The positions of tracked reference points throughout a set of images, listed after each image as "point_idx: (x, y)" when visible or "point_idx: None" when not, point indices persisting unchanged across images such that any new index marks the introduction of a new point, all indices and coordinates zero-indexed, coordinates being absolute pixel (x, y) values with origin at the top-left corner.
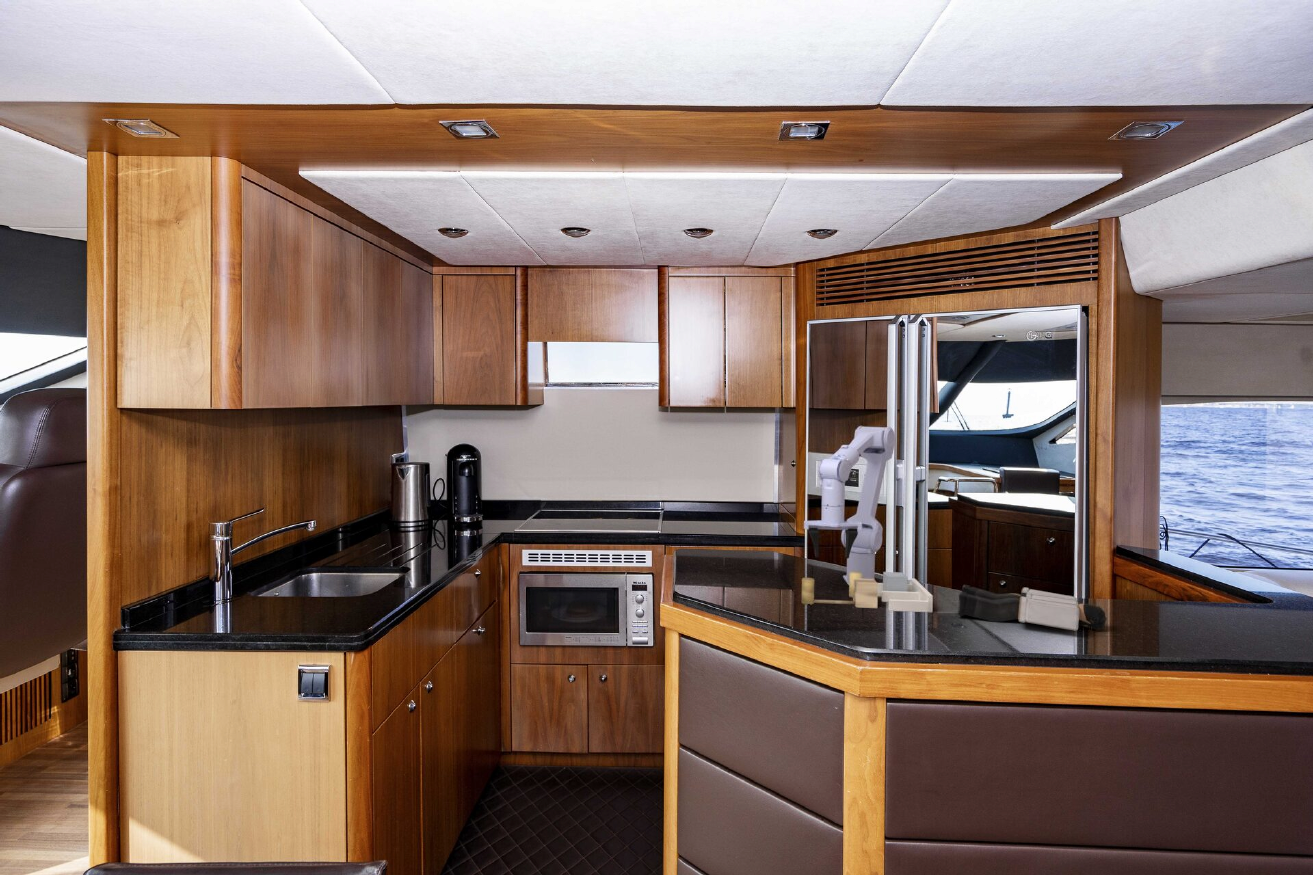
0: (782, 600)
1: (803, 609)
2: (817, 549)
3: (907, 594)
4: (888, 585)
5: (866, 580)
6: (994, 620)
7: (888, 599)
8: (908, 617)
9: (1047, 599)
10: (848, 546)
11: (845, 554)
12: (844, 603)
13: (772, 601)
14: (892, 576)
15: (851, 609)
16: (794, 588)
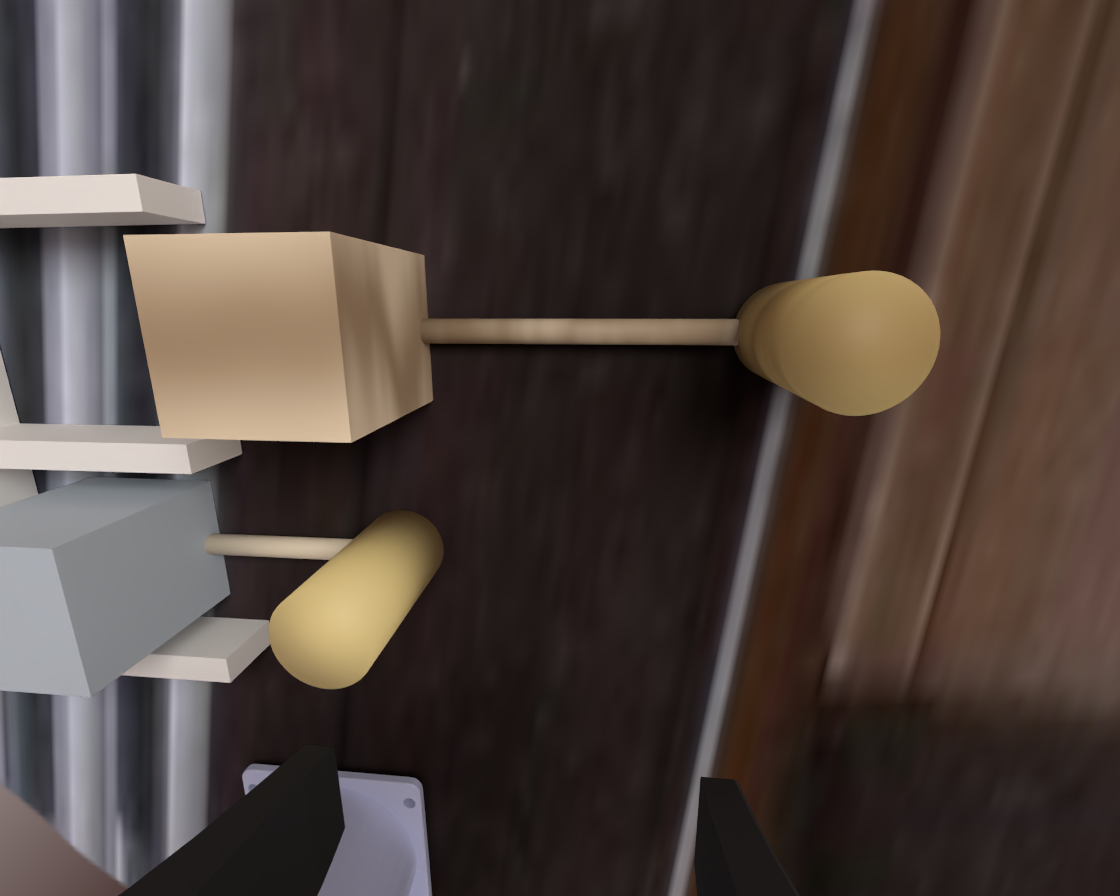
0: (978, 379)
1: (860, 119)
2: (754, 882)
3: (32, 435)
4: (117, 517)
5: (231, 367)
6: None
7: None
8: (77, 21)
9: None
10: (184, 890)
11: (324, 836)
12: (500, 320)
13: (1078, 339)
14: (11, 548)
15: (466, 185)
16: (799, 705)
